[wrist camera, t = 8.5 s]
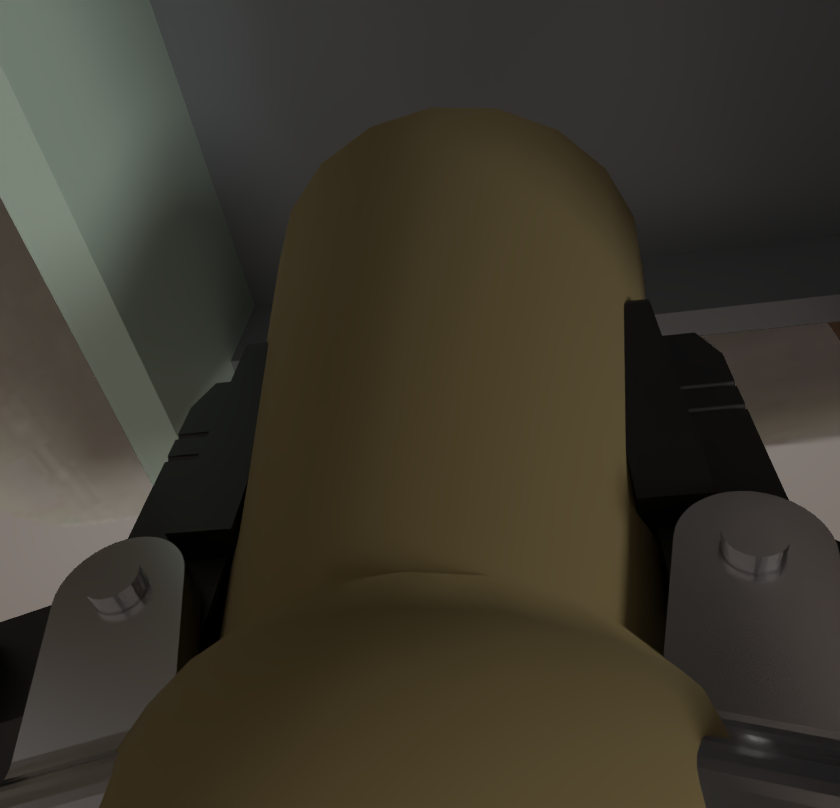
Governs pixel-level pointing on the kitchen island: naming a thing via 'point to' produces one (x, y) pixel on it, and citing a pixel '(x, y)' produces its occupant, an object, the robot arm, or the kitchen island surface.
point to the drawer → (380, 102)
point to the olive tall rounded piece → (439, 507)
